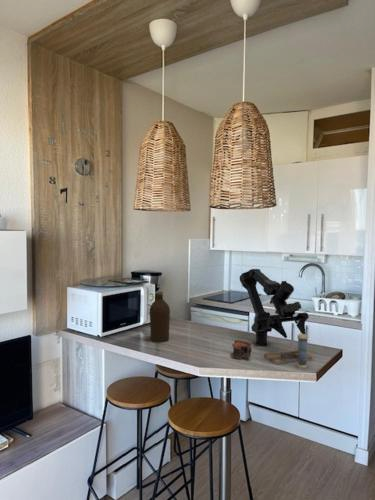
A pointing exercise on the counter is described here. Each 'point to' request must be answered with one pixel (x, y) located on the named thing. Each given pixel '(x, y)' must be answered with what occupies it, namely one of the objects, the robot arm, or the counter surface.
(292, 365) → the counter surface
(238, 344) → the pottery mug
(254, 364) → the counter surface
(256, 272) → the robot arm
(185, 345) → the counter surface
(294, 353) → the board
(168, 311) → the olive oil
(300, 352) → the spool
